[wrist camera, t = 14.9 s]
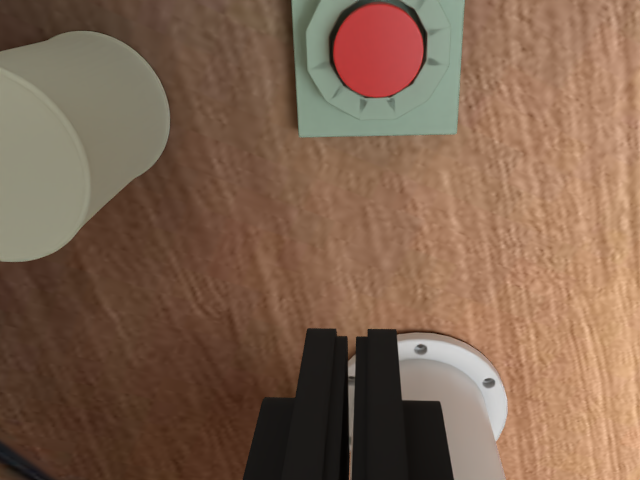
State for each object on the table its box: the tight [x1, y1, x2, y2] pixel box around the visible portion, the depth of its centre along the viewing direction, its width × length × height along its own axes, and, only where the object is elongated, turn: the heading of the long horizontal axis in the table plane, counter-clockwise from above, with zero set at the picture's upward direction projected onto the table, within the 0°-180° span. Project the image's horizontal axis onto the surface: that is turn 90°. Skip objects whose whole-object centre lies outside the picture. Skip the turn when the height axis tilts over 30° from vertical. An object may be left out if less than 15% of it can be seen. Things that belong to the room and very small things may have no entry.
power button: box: [333, 2, 424, 98], centre depth 29 cm, size 4×4×2 cm
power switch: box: [291, 0, 465, 137], centre depth 31 cm, size 10×9×4 cm
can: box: [0, 31, 170, 262], centre depth 30 cm, size 9×9×12 cm
